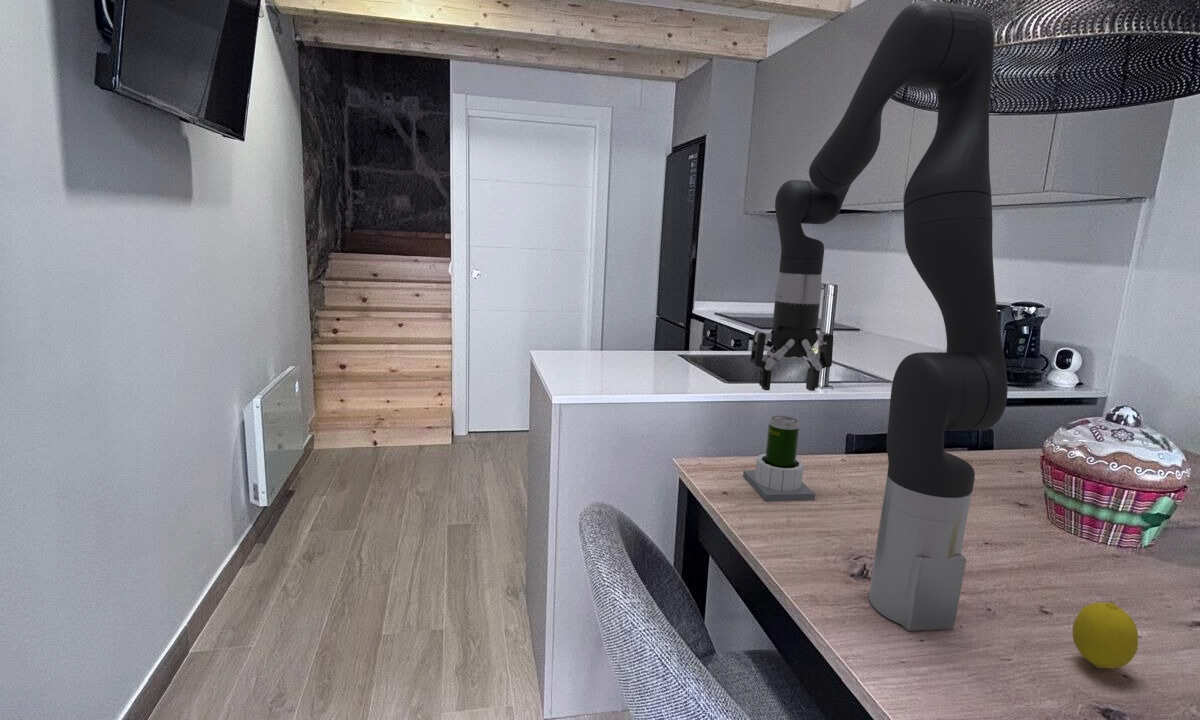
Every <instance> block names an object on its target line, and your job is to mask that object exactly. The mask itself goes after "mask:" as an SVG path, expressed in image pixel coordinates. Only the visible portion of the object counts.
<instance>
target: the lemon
mask: <svg viewBox="0 0 1200 720" xmlns="http://www.w3.org/2000/svg"><path fill="white" fill-rule="evenodd" d="M1072 625H1073V626H1072V638H1073V643H1074V645H1075V647H1076V649H1077V651H1078V652H1079V654H1081V656H1082V657H1083V658H1085V659H1086V660H1087V661H1088V662H1090V663H1091V665H1093V667H1094V666H1096V667H1098V668H1097V669H1103V668H1104V669H1105V668H1106V669H1119V668H1122V667H1124V666H1127V665H1128V664H1129V663H1130V662H1131V661H1132V660H1133V659H1134V657H1135V655H1137V651H1138V646H1139V634H1138V633H1139V632H1138V628H1137V625H1136V623H1135V621H1134V620H1133V618H1132V617H1131V616H1130V615H1129V613H1127V612H1126V611H1125V610H1123V609H1122V608H1120V607H1119V606H1118V605H1117V604H1116V603H1114V602H1101V601H1100V602H1092V603H1089V604H1088V605H1087V604H1086V605H1085V606H1084V607H1083V608H1081V610H1080V611H1079V612H1078V614H1077V615H1076V617H1075V619H1074V622H1073V624H1072ZM1096 667H1095V668H1096Z"/></svg>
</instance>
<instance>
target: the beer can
mask: <svg viewBox="0 0 1200 720" xmlns="http://www.w3.org/2000/svg"><path fill="white" fill-rule="evenodd" d="M767 428H768V429H767V440H766V448H765V449H766V450H765V453H766V458H765V464H768V465H771V466H773V467H779V468H795V462H796V458H797V452H798V441H799V432H800V425H799V420H798V419H797V418H795V417H793V416H787V415H774V416H771V417H770V421H769V422H768V426H767Z"/></svg>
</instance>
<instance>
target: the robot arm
mask: <svg viewBox="0 0 1200 720" xmlns="http://www.w3.org/2000/svg"><path fill="white" fill-rule="evenodd" d="M994 35H995V34H994V27H993V22H992V20H991V17H990V16H989V14H988V13H987V12H986V11H985V10H984V9H981V8H979V7H977V6H971V5H966V4H959V3H951V2H945V1H944V2H942V1H935V0H919V1H917V0H916V1H914V2H912V3H910V4H908V5H907V6H905V7H904V8H903V9H902V10H901V11H900V12H899V13H898V15H897V16H896V17H895V19H894V20H893V21H892V22H891V24H890V25H889V27H888V28H887V30H886V32H885V33H884V36H883V37H882V39H881V41H880V42H879V44H878V47H877V48H876V50H875V52H874V54H873V56H872V58H871V60H870V62H869V64H868V67H867V68H866V70H865V71H864V74H863V76H862V77H861V80H860V82H859V84H858V86H857V88H856V90H855V92H854V94H853V96H852V99H851V101H850V103H849V104H848V107H847V108H846V111H845V112H844V114H843V117H842V118H841V120H840V121H839V122H838V125H837V126H836V128H835V129H834V131H833V132H832V134H830V137H828V139H827V140H826V142H825V143H824V144H823V146H822V147H821V148H820V150H819V151H818V153H817V154H816V155H815V157H814V158H813V160H812V161H811V163H810V165H809V167H808V168H809V169H808V176H809V178H810V180H802V179H790V180H786V182H784V183H783V184H782V185H781V186H780V187H779V189H778V190H777V193H776V195H775V200H774V209H775V215H776V216H775V217H776V221H777V227H778V233H779V240H780V251H781V252H780V259H779V260H780V261H779V270H778V271H779V272H778V277H777V282H776V288H775V293H774V306H773V317H772V330H771V331H770V332H762V331H760V330H755V331H754V334H753V338H752V339H753V340H752V346H751V352H750V360H749V361H750V363H751V364H752V365H753V366H755V367H758V368H759V378H758V385H759V387H761V389H762V390H764V391H770V390H771V380H772V370H771V369H772V368H773V366H774V365H775V364H776V363H777V362H779V361H780V360H781V359H782V358H793V357H795V358H797V359H798V358H799V359H800V358H802V359H804V360H805V361H806V362H807V363H806V364H807V365H808V366H809V368H807V374H806V375H807V376H806V382H805V388H806V390H808V391H809V392H810V391H811V392H815V391H816V389H817V388H818V387H819V381H820V374H821V370H823V369H826V368H831V367H832V365H833V351H834V350H833V349H834V335H833V334H830V333H828V332H821V333H818V332H817V328H818V324H819V316H820V315H819V314H820V305H821V297H822V290H823V289H822V286H823V285H822V282H823V281H822V273H823V265H824V258H825V245H824V242H822V241H821V240H819V239H817V238H812V237H809V236H807V235H806V233H805V232H804V229H803V227H802V224H803V225H804V224H806V225H807V224H809V225H825V224H827V223H829V222H831V221H833V220H834V219H835V218H837V216H838V215H839V214H840V212H841V209H842V206H843V203H844V201H845V199H846V196H847V194H848V192H849V189H850V187H851V185H852V183H853V182H855V180H856V179H857V178H858V176H860V174H861V173H862V172H864V170H865V169H866V168H867V166H868V165H869V164H870V163H871V161H872V160H873V158H874V157H875V155H876V153H877V151H878V148H879V145H880V141H881V132H882V131H881V130H882V117H883V116H882V115H883V110H884V108H885V106H886V104H887V103H888V101H889V100H890V99H891V98H892V97H893V95H894V94H896V92H898V90H900V89H901V88H902V87H903V86H908V87H915V88H922V89H923V88H925V89H926V88H927V89H934V90H935V92H936V96H937V107H938V108H937V124H936V129H935V134H934V137H933V139H932V141H931V143H930V145H929V146H928V148H927V150H926V151H925V153H924V155H923V156H922V158H921V159H920V161H919V163H918V164H917V166H916V167H915V170H913V173H912V175H911V177H910V178H909V181H908V182H907V184H906V187H905V189H904V190H905V191H904V196H903V232H904V233H903V234H904V244H905V249H906V252H907V255H908V257H909V259H910V261H911V263H912V265H913V267H914V268H915V270H916V271H917V273H918V274H919V275H918V276H919V277H920V278H921V280H922V282H923V283H924V284H925V286H926V288H927V289H928V290H929V292H930V293H931V295H932V296H933V298H934V300H935V302H936V303H937V305H938V308H939V310H940V313H941V316H942V318H943V325H944V329H945V335H946V337H945V338H946V352H941V351H940V352H936V351H929V352H928V351H927V352H926V351H925V352H924V351H923V352H914V353H911V354H908V355H907V356H906V357H904V358H903V359H902V360H901V361H900V363H899V365H898V366H897V368H896V370H895V372H894V375H893V378H892V384H891V391H890V399H889V401H890V402H889V412H888V424H887V431H886V432H887V434H886V455H887V459H888V462H887V463H888V467H887V473H886V474H887V475H886V481H885V486H884V487H885V488H884V492H883V493H884V495H883V498H882V499H883V501H882V506H881V512H880V518H879V519H880V520H879V524H878V525H879V527H878V533H877V538H876V539H877V540H876V546H875V553H874V558H873V565H872V575H871V581H870V589H869V594H868V598H869V599H868V600H869V602H870V604H871V606H872V607H873V609H875V610H876V612H878V613H879V614H881V615H882V616H883V617H885V618H887V619H888V620H891V622H892V621H893V622H894V623H897V624H899V625H901V626H902V627H903V628H904V629H906V630H907V631H909V632H913V631H914V632H915V631H931V630H932V631H934V630H953V629H954V628H955V624H956V618H957V612H958V607H959V602H960V597H961V591H962V586H963V580H964V576H965V568H966V564H967V558H966V556H964V555H962V551H963V550H962V549H963V544H964V537H965V533H966V525H967V521H968V515H969V510H970V506H971V500H972V495H973V489H974V485H975V484H974V483H975V477H976V472H975V470H974V468H973V466H972V465H971V464H970V462H967V461H966V460H964V459H963V458H961V457H959V456H957V455H954V454H951V453H950V452H946V451H945V449H944V448H945V446H944V445H945V433H946V432H945V431H949V432H950V431H951V432H952V431H953V432H955V431H981V430H987V429H990V428H992V427H994V426H995V425H996V424H997V423H998V422H999V421H1000V419H1001V418H1002V416H1003V415H1004V412H1005V409H1006V406H1007V401H1008V393H1009V392H1008V391H1009V390H1008V388H1009V387H1008V375H1007V367H1006V366H1007V365H1006V359H1005V352H1004V347H1003V341H1002V335H1001V330H1000V329H1001V328H1000V322H999V315H998V307H997V299H996V297H997V296H996V285H995V284H996V283H995V272H994V268H995V267H994V255H993V252H994V251H993V226H994V225H993V223H994V222H993V202H992V201H993V200H992V187H991V174H990V109H991V108H990V107H991V93H992V81H993V80H992V79H993V70H994V69H993V68H994V67H993V66H994V50H995V36H994ZM769 341H770V342H771V344H772V345H771V347H770V348H769V349H768V350H767V352H766V353H765V356H764V351H765V346H767V344H768V342H769ZM816 343H818V345H819V353H818V354H819V356H817V354H816V352H815V351H814V349H813V347H814V345H816ZM818 357H819V358H818Z"/></svg>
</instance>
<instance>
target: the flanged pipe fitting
mask: <svg viewBox="0 0 1200 720" xmlns="http://www.w3.org/2000/svg"><path fill="white" fill-rule="evenodd" d="M765 458H766V452H765V453H762V454H758V456H757V458H756V461H755V462H756V464H755V469H752V470H751V469H749V470H746V469H744V470H743V472H742V473H743V474H742V476H743V478H744V479H745V480H746V481H747V482H748V484H750V486H751V487H752V488H753V489H754V490H755V491H756V492H757V494H759V496H760V497H761V498H762V499H763V500H764V501H765V502H782V501H784V502H785V501H786V502H787V501H790V502H791V501H815V499H816V493H815V492H814V491H813V490H812V489H811V488H809V487H808V485H806V484H805V483H804V482H803V476H804V466H805V465H804V464H805V463H804V462H803V461H802V460H800V459H799V458H797V457H796V462H795V468H779V467H773V466H771V465H768V464H765Z"/></svg>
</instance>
